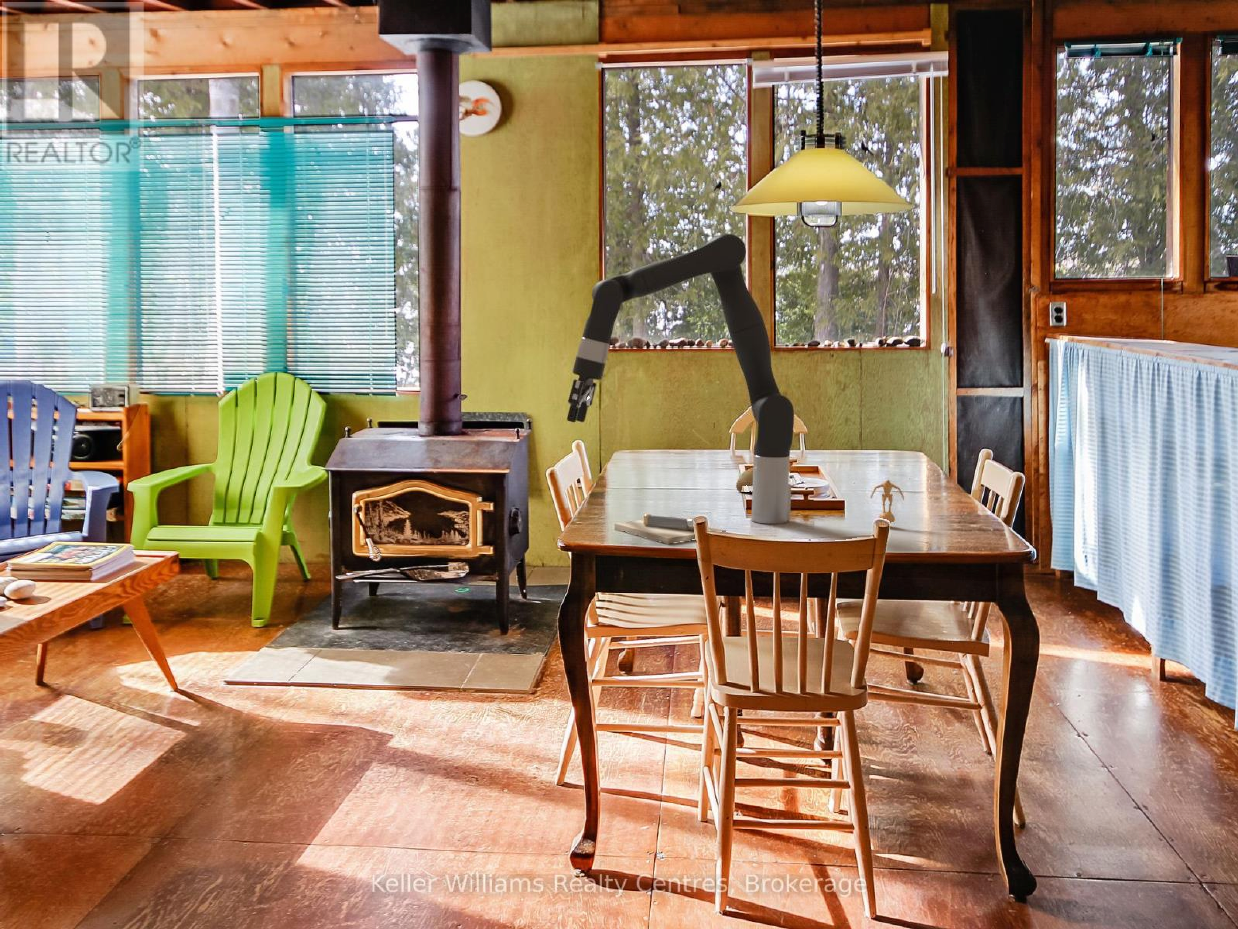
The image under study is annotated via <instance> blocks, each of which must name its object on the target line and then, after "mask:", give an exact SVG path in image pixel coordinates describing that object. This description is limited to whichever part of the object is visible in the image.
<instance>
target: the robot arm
mask: <svg viewBox="0 0 1238 929" xmlns="http://www.w3.org/2000/svg"><path fill="white" fill-rule="evenodd" d="M746 254H747V248H746V245H745V243H744V240H742V239H741V238H740V237H739V236H737V235H736V234H732V233H722V234H717V235H715V236H713V237H712V238H710V239H709V240H708V241H707V243H706V244H705V245H703V246H700V247H698V248H697V249H695V250H691V251H689V252H686V253H682V254H680V255H676V256H673V257H669V258H665V259H662V260H658V261H655V262H651V263H649V264H646V265H644V266H641V267H638V268H635V269H632V270H631V271H628V272H626V273H622V274H620V275H616V276H613V277H609V278H606V279H603V280H600V281H598V282H597V283H596V284H594V286H593V289H592V292H591V296H592V297H591V298H592V304H591V309H590V312H589V316H588V317H587V320H586V322H585V324H584V329H583V333H582V337H581V340H580V343H579V345H578V348H577V353H576V356H575V361H574V364H573V369H572V374H573V375H577V376H578V379H574V380H573V381H572V386H571V389H570V394H569V397H568V400H567V403H568V405H569V409H568V414H567V417H566V421H568V422H571V423H576V422H581V423H585V421H586V417H587V413H588V410H589V408H590V406H592V405H593V400H594V397H595V392H596V389H597V388H596V387H597V382H595V381H594V380H596V381H601V380H602V379H603V375H604V372H605V367H606V363H607V360H608V355H609V351H610V350H609V349H610V348H609V347H610V343H611V339H612V336H613V331H614V326H615V322H616V319H617V317H618V314H619V312H620V308H621V306H622V303H623V304H624V302H627V301H628V302H629V301H630V300H632V299H636V298H642V297H645V296H648V295H652V294H654V293H658V292H661V291H663V290H665V289H667V288H670V287H673V286H675V285H678V284H680V283H682V282H686V281H687V280H690V279H693V278H695V277H700V276H703V275H707V274H710V275H711V277H712V279H713V282H714V285H715V287H716V290H717V292H718V294H719V299H720V303H721V307H722V312H723V316H724V319H725V322H726V326H727V330H728V331H727V332H728V333H729V337H730V341H731V343H732V346H733V349H734V352H735V355H736V358H737V361H738V363H739V366H740V369H741V371H742V374H743V376H744V379H745V382H746V386H747V391H748V395H749V402H750V406H751V413H752V416H753V418H754V419H755V422H757V439H756V441H755V443H754V447H753V462H752V463H753V465H752V466H753V467H752V468H753V491H752V492H751V493H752V494H751V495H752V498H751V499H752V500H751V521H752V522H755V523H760V524H761V523H762V524H769V525H770V524H774V525H775V524H776V525H777V524H785V523H787V522H788V521H787V520H790V521H791V501H792V485H791V484H790V483H789V478H790V457H791V456H790V454H791V452H790V451H791V447H792V444H793V438H794V427H795V426H794V421H795V410H794V405H793V403H792V402H791V400H790V399H789V398H788V397H786V396H785V395H782V394H781V391H780V390H779V387H778V384H777V382H776V379H775V375H774V373H773V368H772V355H771V354H772V353H771V344H770V338H769V334H768V331H767V328H766V324H765V321H764V318H763V316H762V313H761V310H760V309H759V307H758V305H757V303H756V301H755V299H754V298H753V296H752V295H751V292H750V291H749V289H748V287H747V284H746V282H745V278H744V275H743V274H744V273H743V270H742V266H741V264H743V262H744V261H745V258H746ZM786 521H787V522H786ZM784 522H785V523H784Z"/></svg>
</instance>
